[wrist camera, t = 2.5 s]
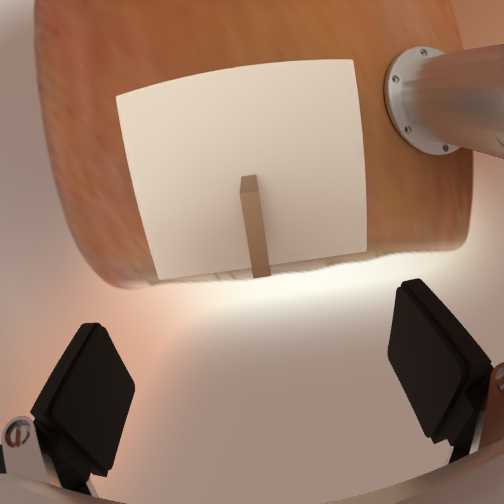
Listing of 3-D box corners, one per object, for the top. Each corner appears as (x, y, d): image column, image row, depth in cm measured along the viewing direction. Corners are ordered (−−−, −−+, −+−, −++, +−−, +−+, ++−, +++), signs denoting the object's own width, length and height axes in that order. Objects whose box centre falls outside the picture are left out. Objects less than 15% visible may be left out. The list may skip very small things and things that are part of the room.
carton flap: (119, 97, 18) (80, 92, 13) (349, 61, 17) (382, 44, 12) (161, 276, 24) (141, 317, 19) (363, 248, 23) (392, 283, 18)
